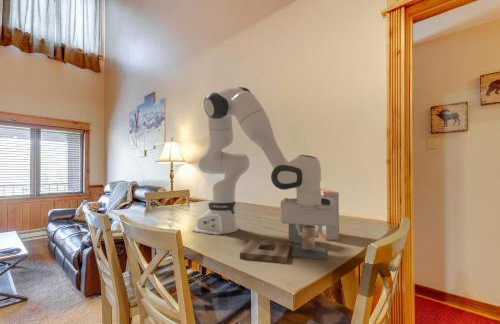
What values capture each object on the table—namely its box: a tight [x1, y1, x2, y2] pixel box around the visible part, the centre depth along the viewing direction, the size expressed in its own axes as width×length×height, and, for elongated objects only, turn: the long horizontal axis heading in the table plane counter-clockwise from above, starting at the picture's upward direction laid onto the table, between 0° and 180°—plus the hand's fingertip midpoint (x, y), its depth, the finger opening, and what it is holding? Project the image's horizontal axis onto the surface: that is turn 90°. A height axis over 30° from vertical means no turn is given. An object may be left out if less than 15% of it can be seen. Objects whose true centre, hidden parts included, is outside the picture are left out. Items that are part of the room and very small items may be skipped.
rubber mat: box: [291, 244, 328, 261], centre depth 91 cm, size 12×12×1 cm
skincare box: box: [287, 224, 303, 245], centre depth 106 cm, size 8×7×16 cm
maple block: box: [301, 225, 316, 249], centre depth 91 cm, size 4×4×8 cm
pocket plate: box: [239, 239, 292, 264], centre depth 91 cm, size 16×16×2 cm
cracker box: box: [319, 188, 340, 241], centre depth 114 cm, size 14×6×21 cm, turn 178°
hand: (308, 236), depth 91 cm, fingers closed on maple block, 4 cm apart
